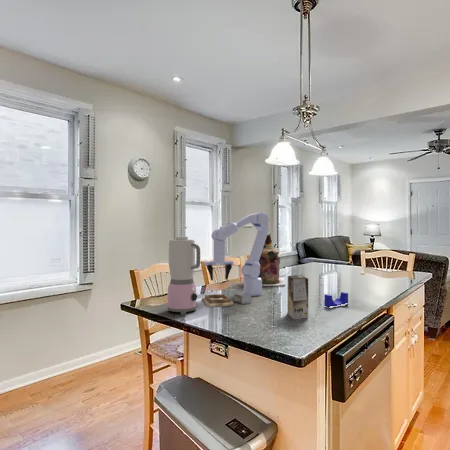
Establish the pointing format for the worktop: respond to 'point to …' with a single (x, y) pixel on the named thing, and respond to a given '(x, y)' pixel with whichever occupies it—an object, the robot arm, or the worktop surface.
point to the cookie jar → (270, 265)
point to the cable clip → (329, 301)
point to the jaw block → (243, 298)
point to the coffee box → (298, 296)
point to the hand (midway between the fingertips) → (219, 279)
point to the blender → (182, 274)
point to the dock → (217, 300)
